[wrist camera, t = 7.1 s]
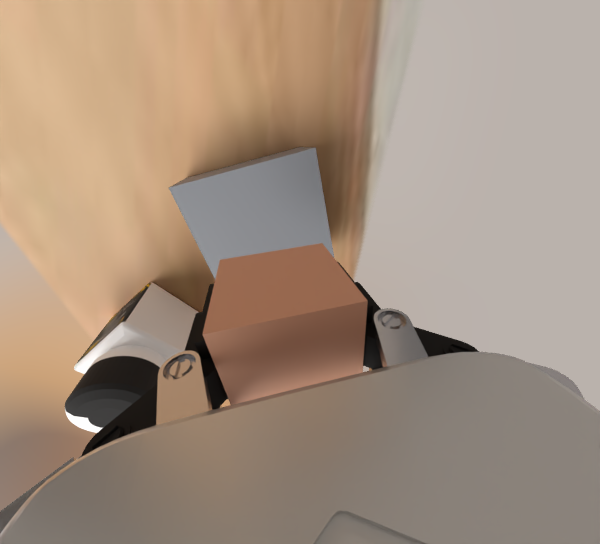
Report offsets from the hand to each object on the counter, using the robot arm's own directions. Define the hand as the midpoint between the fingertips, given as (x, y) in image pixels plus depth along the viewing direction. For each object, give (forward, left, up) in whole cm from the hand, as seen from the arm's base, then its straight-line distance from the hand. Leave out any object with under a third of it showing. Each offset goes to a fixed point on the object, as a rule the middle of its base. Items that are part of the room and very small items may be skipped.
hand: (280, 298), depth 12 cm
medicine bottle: (+10, -14, -15) cm, 23 cm away
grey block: (0, 0, -15) cm, 15 cm away
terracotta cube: (0, 0, -1) cm, 1 cm away
